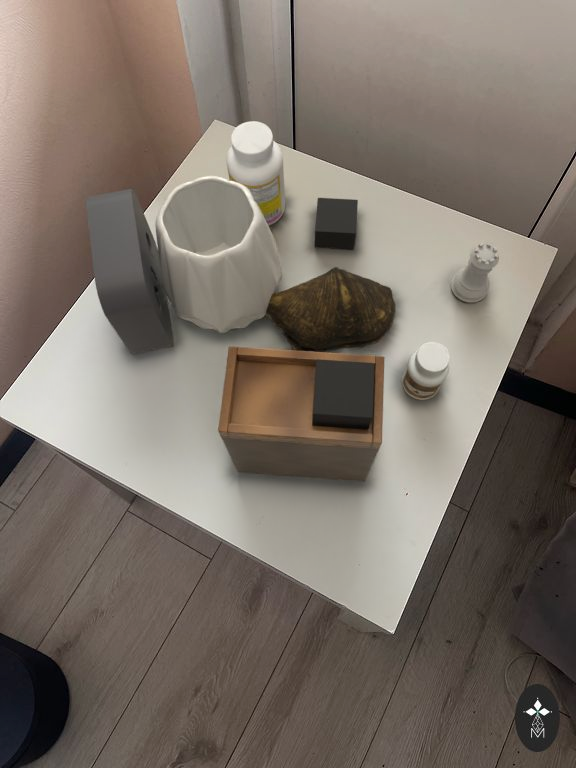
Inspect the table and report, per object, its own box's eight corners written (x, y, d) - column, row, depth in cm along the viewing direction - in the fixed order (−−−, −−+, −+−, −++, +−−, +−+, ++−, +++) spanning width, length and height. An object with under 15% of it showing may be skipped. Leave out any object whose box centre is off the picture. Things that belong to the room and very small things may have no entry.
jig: (367, 411, 70) (384, 356, 55) (365, 481, 67) (382, 443, 52) (245, 403, 70) (228, 345, 56) (237, 472, 68) (217, 431, 53)
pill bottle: (396, 393, 70) (406, 367, 63) (408, 360, 72) (419, 331, 65) (433, 406, 70) (448, 382, 62) (444, 373, 71) (460, 345, 64)
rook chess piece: (493, 283, 75) (514, 246, 68) (476, 310, 74) (496, 276, 66) (460, 266, 76) (477, 228, 69) (443, 293, 75) (459, 257, 67)
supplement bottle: (245, 181, 82) (235, 107, 70) (292, 194, 81) (290, 121, 69) (227, 221, 79) (213, 152, 67) (275, 235, 78) (269, 167, 66)
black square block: (370, 377, 56) (374, 362, 52) (368, 430, 54) (372, 418, 51) (315, 373, 56) (316, 358, 53) (312, 426, 54) (312, 413, 51)
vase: (256, 358, 72) (244, 295, 58) (150, 319, 74) (113, 250, 60) (300, 262, 77) (298, 182, 63) (198, 228, 79) (174, 143, 65)
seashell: (388, 273, 75) (400, 254, 68) (400, 344, 74) (413, 332, 67) (256, 290, 75) (255, 272, 68) (266, 362, 74) (265, 351, 67)
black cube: (355, 216, 79) (357, 199, 76) (353, 249, 77) (356, 233, 74) (317, 214, 79) (317, 197, 76) (314, 247, 78) (314, 231, 74)
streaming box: (80, 186, 64) (128, 176, 64) (119, 260, 78) (159, 252, 78) (93, 305, 59) (146, 294, 59) (133, 362, 73) (176, 354, 73)
